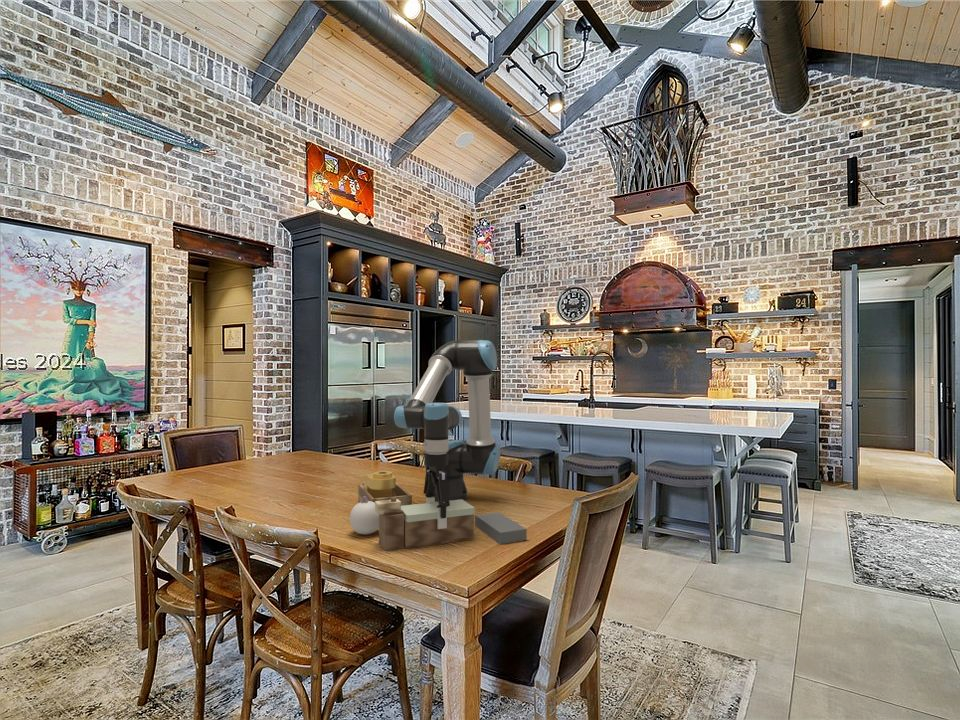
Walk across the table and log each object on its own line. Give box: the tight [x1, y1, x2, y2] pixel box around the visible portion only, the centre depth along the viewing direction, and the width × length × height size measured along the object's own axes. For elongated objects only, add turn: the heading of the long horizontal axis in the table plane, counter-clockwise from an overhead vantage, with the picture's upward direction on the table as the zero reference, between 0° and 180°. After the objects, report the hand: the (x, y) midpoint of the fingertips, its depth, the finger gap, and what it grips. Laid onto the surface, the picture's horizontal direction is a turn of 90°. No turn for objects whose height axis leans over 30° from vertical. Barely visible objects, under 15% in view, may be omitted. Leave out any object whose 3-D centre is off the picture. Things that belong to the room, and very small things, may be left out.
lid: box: [401, 499, 476, 522], centre depth 159 cm, size 22×11×2 cm, turn 113°
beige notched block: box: [375, 497, 401, 515], centre depth 154 cm, size 7×4×4 cm, turn 113°
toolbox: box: [378, 510, 475, 552], centre depth 158 cm, size 28×9×11 cm, turn 113°
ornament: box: [349, 496, 379, 535], centre depth 165 cm, size 10×10×12 cm
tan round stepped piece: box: [363, 470, 397, 499], centre depth 187 cm, size 20×9×16 cm, turn 23°
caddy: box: [357, 482, 413, 506], centre depth 186 cm, size 14×25×9 cm, turn 23°
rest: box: [474, 511, 527, 545], centre depth 166 cm, size 9×20×4 cm, turn 23°
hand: (436, 522), depth 159 cm, fingers closed on lid, 11 cm apart
